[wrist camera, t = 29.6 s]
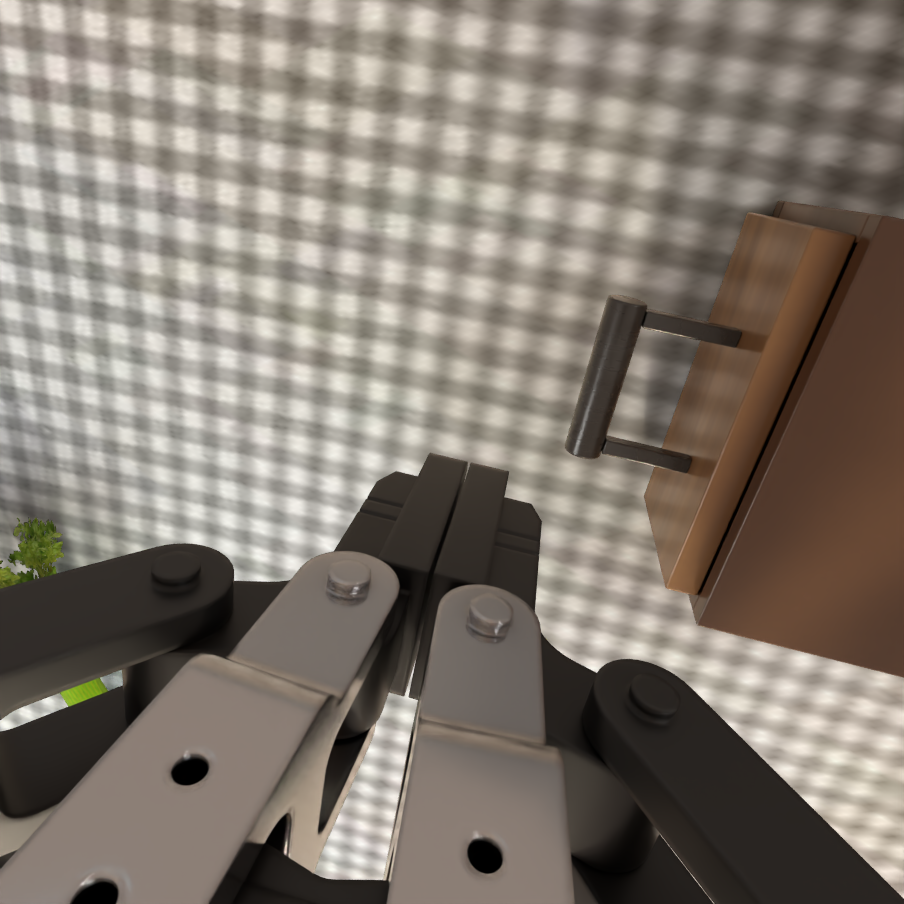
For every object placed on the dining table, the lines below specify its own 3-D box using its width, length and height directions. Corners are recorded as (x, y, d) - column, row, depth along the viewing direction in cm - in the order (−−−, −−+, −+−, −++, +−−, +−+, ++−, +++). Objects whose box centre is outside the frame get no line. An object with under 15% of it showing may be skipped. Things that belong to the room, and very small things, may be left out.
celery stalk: (173, 807, 50) (-40, 496, 37) (254, 796, 50) (66, 474, 36) (138, 889, 45) (-126, 559, 32) (228, 878, 44) (-4, 535, 31)
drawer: (546, 473, 30) (540, 557, 23) (626, 186, 24) (648, 192, 18) (957, 571, 29) (1073, 691, 22) (1142, 291, 23) (1372, 340, 16)
